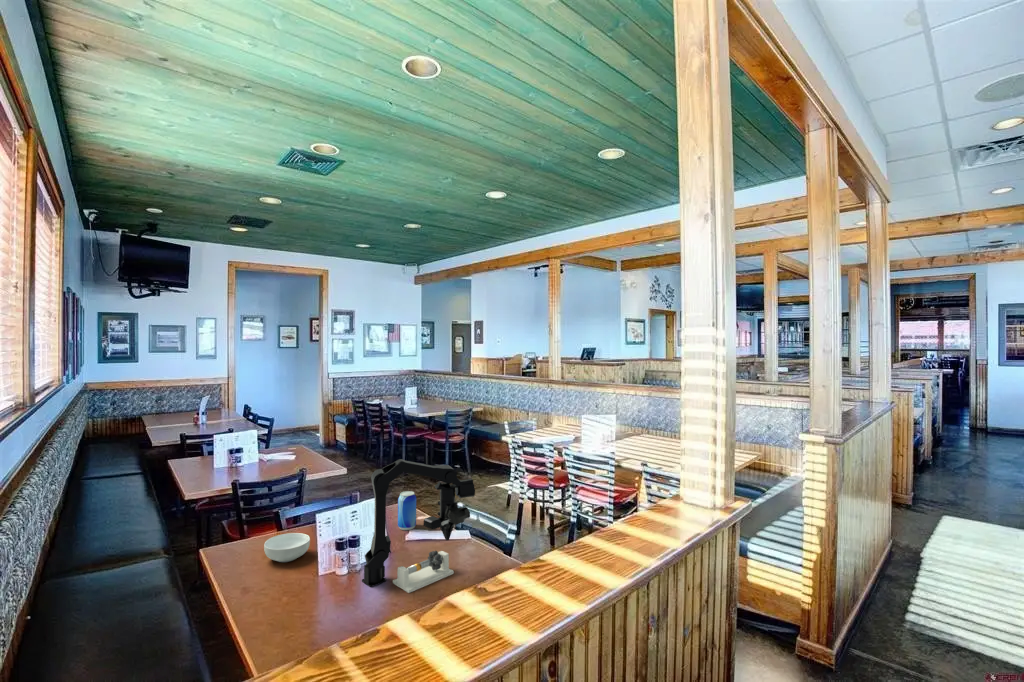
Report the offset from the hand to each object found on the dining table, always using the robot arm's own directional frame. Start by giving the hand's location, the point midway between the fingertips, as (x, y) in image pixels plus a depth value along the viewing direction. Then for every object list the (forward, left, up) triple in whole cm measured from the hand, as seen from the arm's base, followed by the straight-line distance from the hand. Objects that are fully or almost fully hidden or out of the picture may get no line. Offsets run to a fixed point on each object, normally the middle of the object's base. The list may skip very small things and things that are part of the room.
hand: (447, 540), depth 189 cm
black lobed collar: (-6, 0, -9) cm, 11 cm away
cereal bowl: (-39, +53, -11) cm, 67 cm away
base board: (-11, 0, -11) cm, 15 cm away
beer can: (+13, +46, -11) cm, 49 cm away
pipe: (-11, 0, -7) cm, 13 cm away
